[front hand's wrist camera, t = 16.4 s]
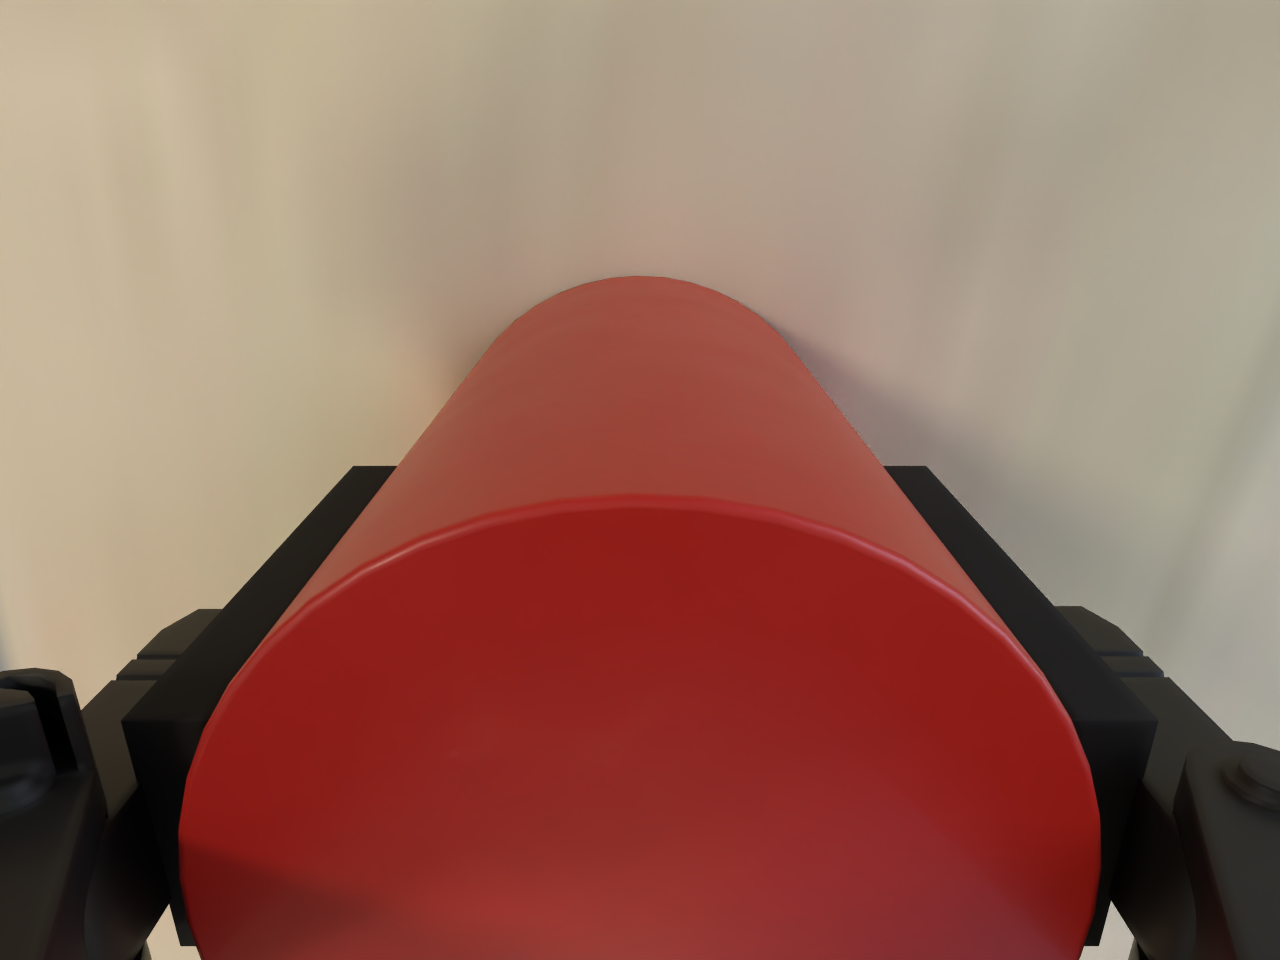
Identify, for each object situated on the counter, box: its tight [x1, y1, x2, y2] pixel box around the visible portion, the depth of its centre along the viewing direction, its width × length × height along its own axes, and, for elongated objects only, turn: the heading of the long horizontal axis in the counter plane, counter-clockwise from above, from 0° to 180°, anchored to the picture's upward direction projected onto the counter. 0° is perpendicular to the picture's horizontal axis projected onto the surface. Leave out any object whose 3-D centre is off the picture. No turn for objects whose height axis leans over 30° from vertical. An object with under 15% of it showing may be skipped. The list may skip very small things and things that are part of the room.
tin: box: [178, 276, 1101, 960], centre depth 12 cm, size 8×8×11 cm
